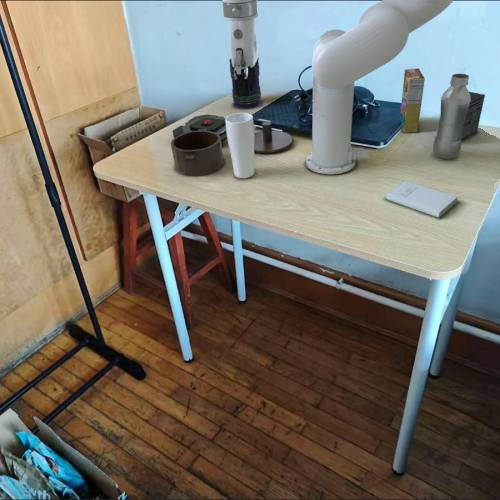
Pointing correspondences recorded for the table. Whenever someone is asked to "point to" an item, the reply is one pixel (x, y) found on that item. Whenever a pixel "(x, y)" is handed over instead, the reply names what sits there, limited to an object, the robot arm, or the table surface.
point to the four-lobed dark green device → (204, 126)
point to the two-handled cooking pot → (197, 152)
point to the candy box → (412, 99)
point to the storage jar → (255, 93)
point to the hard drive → (422, 198)
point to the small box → (472, 115)
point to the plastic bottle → (452, 117)
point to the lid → (270, 139)
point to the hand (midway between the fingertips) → (246, 89)
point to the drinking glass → (241, 143)
